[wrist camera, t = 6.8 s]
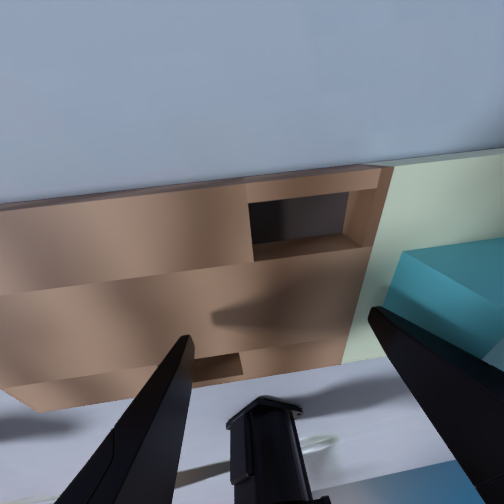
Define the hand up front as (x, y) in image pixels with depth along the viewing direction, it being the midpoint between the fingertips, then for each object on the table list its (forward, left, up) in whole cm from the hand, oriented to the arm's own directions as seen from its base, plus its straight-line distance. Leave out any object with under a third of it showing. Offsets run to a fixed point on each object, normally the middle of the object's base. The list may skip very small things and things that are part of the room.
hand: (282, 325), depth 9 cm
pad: (-7, -6, -3) cm, 9 cm away
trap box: (+1, +1, -3) cm, 3 cm away
